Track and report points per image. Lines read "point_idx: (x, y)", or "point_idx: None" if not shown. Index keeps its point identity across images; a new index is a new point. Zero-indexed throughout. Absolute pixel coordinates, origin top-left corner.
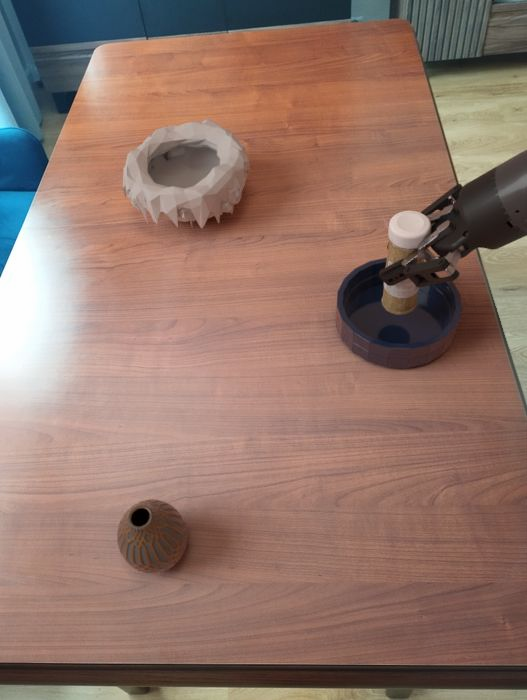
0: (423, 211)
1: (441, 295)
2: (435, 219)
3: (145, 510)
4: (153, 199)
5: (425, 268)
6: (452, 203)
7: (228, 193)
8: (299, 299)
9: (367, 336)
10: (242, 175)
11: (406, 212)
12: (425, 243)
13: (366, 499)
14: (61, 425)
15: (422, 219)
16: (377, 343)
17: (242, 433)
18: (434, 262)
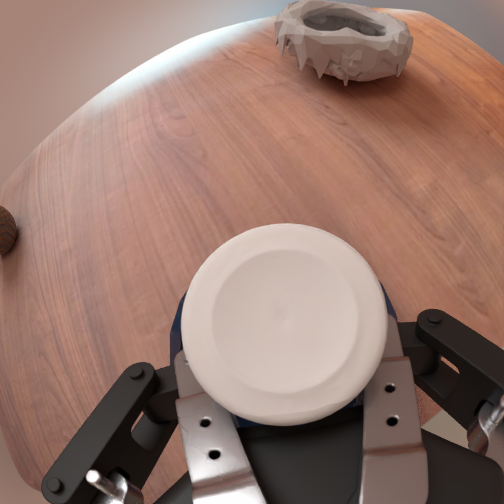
0: (445, 320)
1: (354, 401)
2: (364, 425)
3: (9, 213)
4: (277, 21)
5: (78, 436)
6: (485, 421)
7: (342, 56)
8: (267, 201)
9: (179, 324)
10: (373, 56)
11: (353, 270)
12: (189, 427)
13: (48, 380)
14: (78, 128)
15: (334, 369)
16: (172, 345)
17: (74, 241)
18: (73, 468)
